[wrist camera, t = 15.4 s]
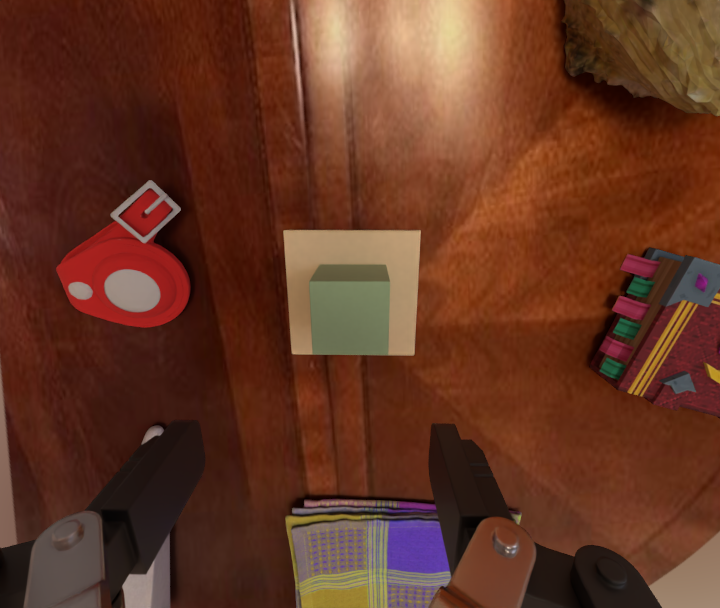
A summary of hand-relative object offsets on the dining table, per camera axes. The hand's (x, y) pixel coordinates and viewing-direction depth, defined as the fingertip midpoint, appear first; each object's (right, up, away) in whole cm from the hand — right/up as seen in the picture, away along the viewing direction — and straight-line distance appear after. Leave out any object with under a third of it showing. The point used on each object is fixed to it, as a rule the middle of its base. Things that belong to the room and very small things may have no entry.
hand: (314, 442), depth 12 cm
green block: (+1, +5, +18) cm, 19 cm away
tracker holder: (-16, +9, +18) cm, 26 cm away
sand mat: (+1, +6, +18) cm, 19 cm away
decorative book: (+30, +3, +19) cm, 35 cm away
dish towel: (+6, -24, +28) cm, 37 cm away
